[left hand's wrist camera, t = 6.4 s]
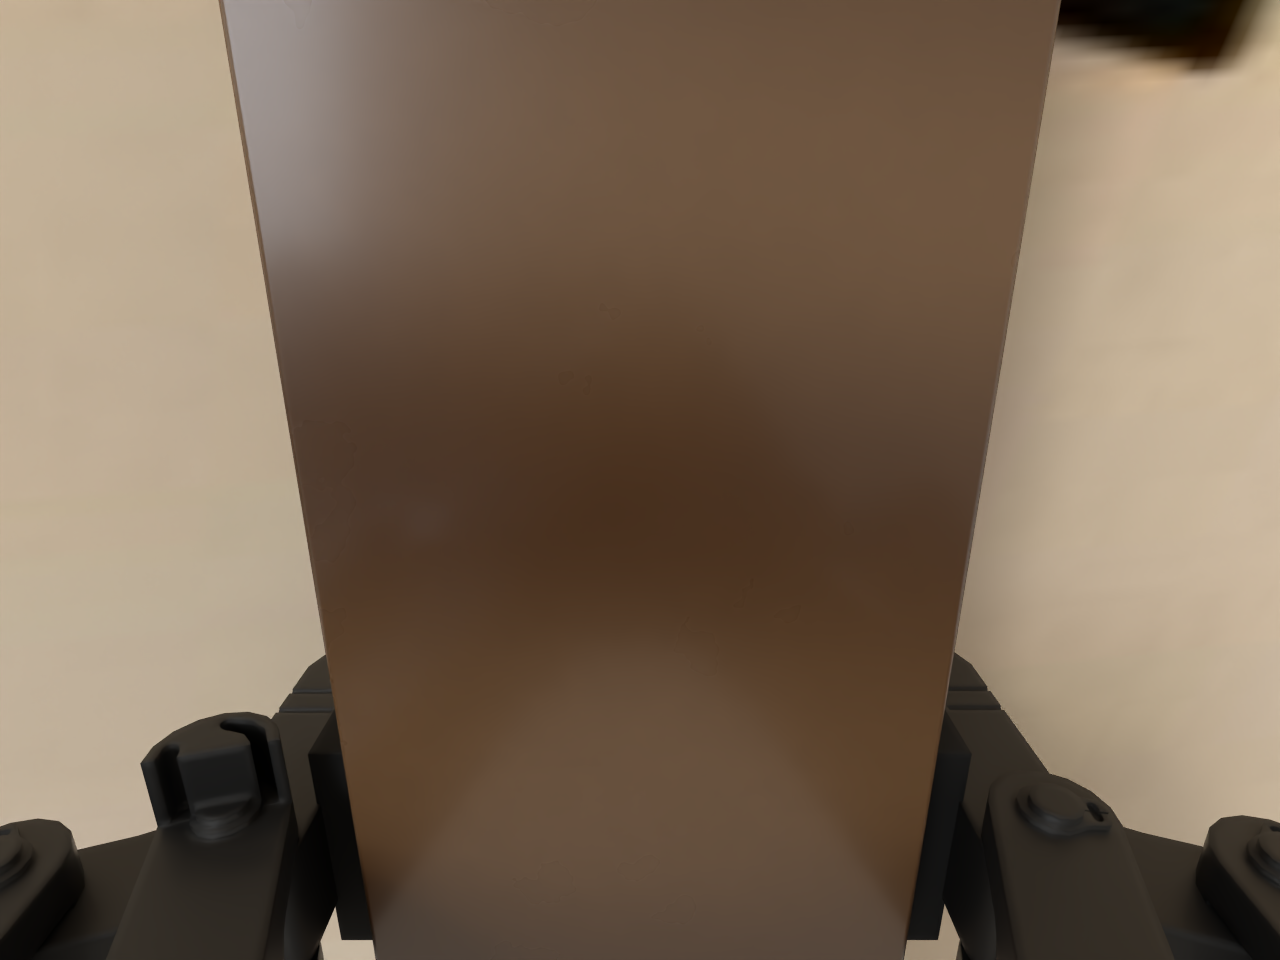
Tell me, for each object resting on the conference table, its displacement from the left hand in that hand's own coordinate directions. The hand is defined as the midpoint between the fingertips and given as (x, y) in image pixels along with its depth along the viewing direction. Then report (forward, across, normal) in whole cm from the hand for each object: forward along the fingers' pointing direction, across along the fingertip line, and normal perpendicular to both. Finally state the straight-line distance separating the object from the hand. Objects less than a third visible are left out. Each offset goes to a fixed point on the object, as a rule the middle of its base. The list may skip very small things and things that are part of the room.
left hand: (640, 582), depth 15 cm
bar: (+1, 0, -27) cm, 27 cm away
